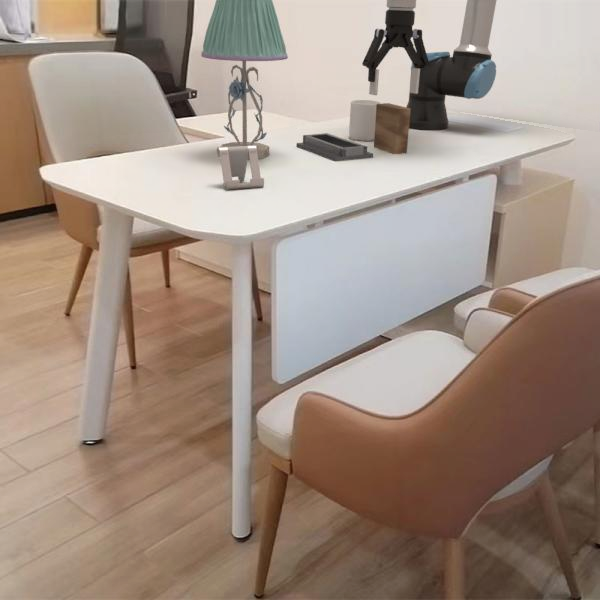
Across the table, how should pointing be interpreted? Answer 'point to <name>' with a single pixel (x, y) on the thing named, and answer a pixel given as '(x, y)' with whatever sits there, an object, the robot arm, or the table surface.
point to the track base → (334, 147)
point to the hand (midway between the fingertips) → (393, 94)
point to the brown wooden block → (392, 128)
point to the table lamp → (244, 52)
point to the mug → (362, 120)
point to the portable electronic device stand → (239, 166)
